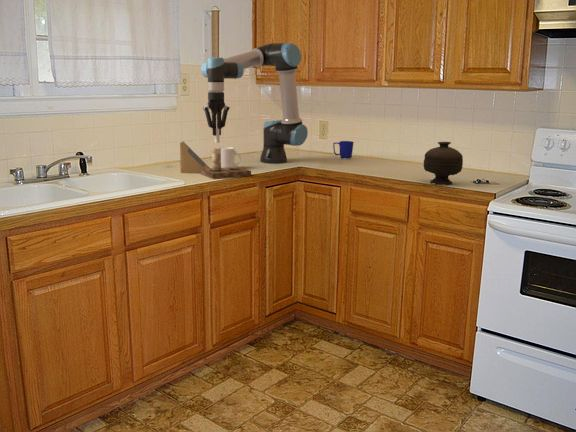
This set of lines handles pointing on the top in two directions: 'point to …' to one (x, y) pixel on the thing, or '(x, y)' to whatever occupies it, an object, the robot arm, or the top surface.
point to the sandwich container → (190, 160)
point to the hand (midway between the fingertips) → (216, 142)
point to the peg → (216, 160)
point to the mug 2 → (345, 149)
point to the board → (226, 172)
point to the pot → (443, 162)
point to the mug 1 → (228, 157)
